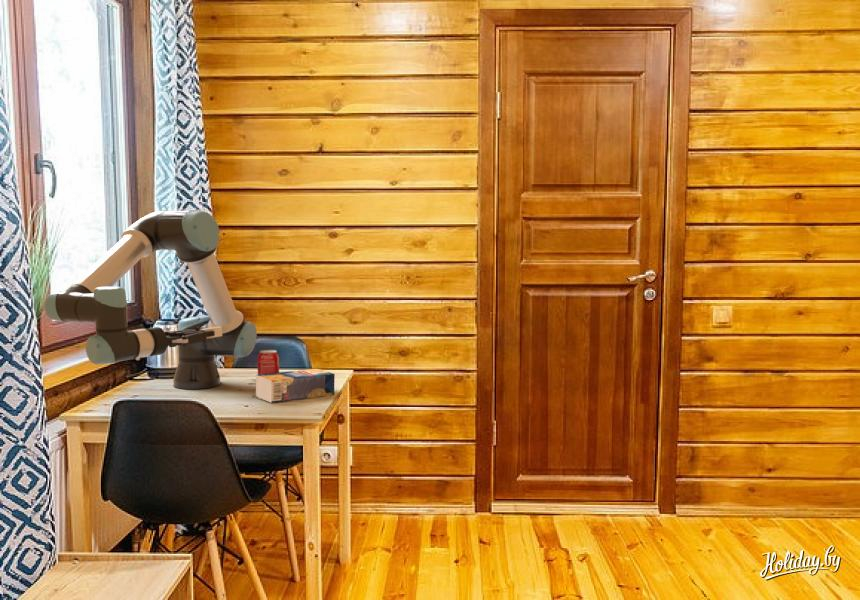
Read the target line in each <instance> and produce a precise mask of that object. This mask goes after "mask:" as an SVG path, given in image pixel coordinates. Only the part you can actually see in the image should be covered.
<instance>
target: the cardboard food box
mask: <svg viewBox="0 0 860 600" xmlns="http://www.w3.org/2000/svg"><path fill="white" fill-rule="evenodd" d="M335 379H336V377H335V373H333V372H330V371H326V370H323V369H320V368H312V369H300V370H294V371H293V370H291V371H281V372H280V371H279V373H269V374H260V375H258V374H256V375H255V395H256V397H259V398H261V399H260V400H262V399H263V401H266V402H268V403H271V404H273V403H275V402H279V403H283V402H288V401H295V400H296V401H297V400H304V399H305V400H306V399H311V398H312V399H313V397H314V398H319V397H318V396H322V397H327V396H326V395H330V396H334V395H335Z"/></svg>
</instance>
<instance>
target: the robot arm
mask: <svg viewBox="0 0 860 600" xmlns="http://www.w3.org/2000/svg"><path fill="white" fill-rule="evenodd" d="M219 234H220V229H219V225H218V223H217V221H216V219H215V218H214V217H213V216H212V215H211V213H209V212H206V211H202V210H201V211H200V210H196V209H195V210H194V209H192V210H191V209H190V210H157V211H154V212H151V213H149V214H147V215H145V216H144V217H141V218H139V219H138V220H137V221H135V222H134V223H133V224H131V225H130V226H129V227H128V228H126V230H124V231H123V233H122V234H121V239H120V240H119V241H118V242H117V243H116V244H114V245H113V247H111V248H110V249H109V250H108V251H107V252H106V253H105V254H104V255H103V256H102V257H101V258H99V259H98V260H97V261H96V262H95V263H94V264H93V265H91V266H90V267H89V269H88V270H86V271H85V272H84V273H83V274H82V275H81V276H80V277H79V278H77V280H75V282H73V283H72V285H70V286H69V287H68V288H67V289H66V290H65V291H63V292H62V291H57V292H52V293H50V294H48V295H47V297H46V298H45V300H44V306H43V309H44V312H45V314H46V316H47V317H48V318H49V319H50V320H52V321H57V322H64V323H67V322H68V323H84V324H85V323H88V324H94V325H95V334H94V335H91V336H89V337H88V338H87V339H86V344H85V353H86V356H87V358H88V360H89V361H90V362H91V363H92V364H94V365H106V364H115V363H119V362H125V361H128V360H129V361H130V360H136V361H140V360H141V358H147V357H155V356H159V355H163V354H164V353H165V352H166V351H167V348H168V347H169V348H175V347H177V354H178V357H177V358H178V360H177V361H178V363H177V366H176V370H175V373H174V377H173V379H172V382H173V383H172V386H173V387H174V388H177V389H185V390H200V389H202V390H203V389H208V388H209V389H210V388H215V387H218V386H219V385H220V384H221V375H220V372H219V369H218V367H217V364H216V359H215V357H216V356H221V357H229V358H230V357H231V358H244V357H249V355H250V354H251V353H252V352H253V350H254V349H255V345H256V341H257V337H258V336H257V335H258V333H257V332H258V330H257V327H256V325H255V323H253V322H251V321H246V320H245V318H244V315H243V312H241V311H240V310H237V309H236V307H235V304H234V301H233V299H232V296H231V293H230V291H229V289H228V286H227V283H226V281H225V278H224V276H223V272H222V271H221V267H220V265H219V263H218V260H217V257H216V256H215V253H216V251H217V248H218V246H219V245H218V244H219V242H220V237H221V236H220V235H219ZM161 250H165V251H166V250H170V251H175V252H176V256H177V257H178V259H179V261H180V262H182V263H184V264H187V267H188V270H189V272H190V274H191V277H192V279H193V282H194V284H195V286H196V289H197V291H198V294H199V296H200V298H201V301H202V303H203V305H204V309H205V310H206V314H207V315H202V316H200V315H199V316H192V317H185V318H181V319H180V320H179V321H178V323H177V330H172V331H170V330H169V331H164V329H162V327H158V326H154V327H148V328H139V329H133V330H128V302H127V296H126V290H125V289H124V287H123V286H117V285H116V284H117V282H119V281H120V280H121V279H122V278H123V277H124V276H125V275H126V274H127V273H128V272H129V271H130V270H131V269H132V268H133V267H134V266H135V265H136V264H137V263H138V262H139V261H140V260H141V259H142V258H143V259H144V258H147V257H149V256H150V255H151V254H152V253H154V252H156V251H161ZM115 285H116V286H115Z"/></svg>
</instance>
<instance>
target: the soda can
mask: <svg viewBox="0 0 860 600" xmlns="http://www.w3.org/2000/svg"><path fill="white" fill-rule="evenodd" d="M279 372H280V357H279V354H278V351H277V350H276V349H264V350H260V351H259V354H258V356H257V375H260V374H269V373H279Z"/></svg>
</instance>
